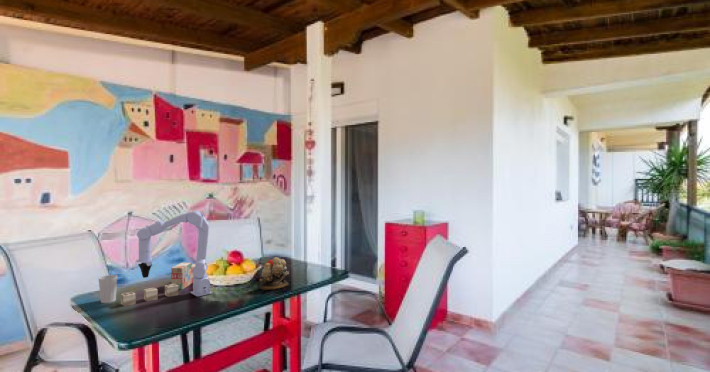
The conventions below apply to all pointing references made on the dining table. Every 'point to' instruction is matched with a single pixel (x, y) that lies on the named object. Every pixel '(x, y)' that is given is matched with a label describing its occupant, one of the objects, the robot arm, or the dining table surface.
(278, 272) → the brown lumpy figurine
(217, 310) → the dining table surface
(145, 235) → the robot arm
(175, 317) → the dining table surface
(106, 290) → the cup
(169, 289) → the dotted block
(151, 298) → the plain block
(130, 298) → the dotted block
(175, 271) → the stack of blocks
